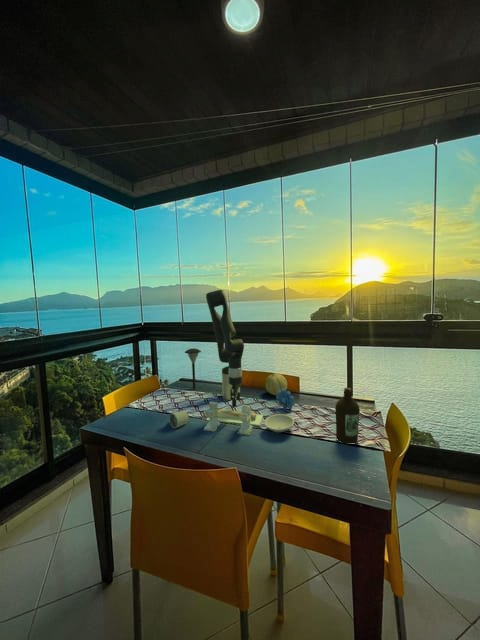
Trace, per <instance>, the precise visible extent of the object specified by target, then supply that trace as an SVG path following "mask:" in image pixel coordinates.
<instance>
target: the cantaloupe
mask: <svg viewBox="0 0 480 640" xmlns="http://www.w3.org/2000/svg"><path fill="white" fill-rule="evenodd" d="M287 388H288V382H287V379H286V377H284V375H282V374H280V373H279V372H277V373H272V374H270V375H269V376H267V377H266V380H265V389H266V391H267V392H268V393H269V394H270V395H271V396H272V395H273V396H277V395H278V393H277V391H279V390H280V391H281V390H282V389H285V391H287Z"/></svg>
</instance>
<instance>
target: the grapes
mask: <svg viewBox="0 0 480 640" xmlns="http://www.w3.org/2000/svg"><path fill="white" fill-rule="evenodd" d="M277 393H278V395H275V398H276V399H277V400H278V401H277V403H278V405H280V406H282V408H283V409H284V408H285V410H286V409H289V410H292V408H293V407H294V406H295V397H294V396H293V395H291V394H292V393H291V392H290V391H289V390H286V391H285V389H282V390H281V391H280V390H279V391H277Z"/></svg>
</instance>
